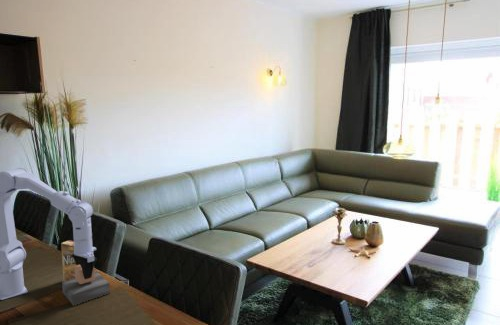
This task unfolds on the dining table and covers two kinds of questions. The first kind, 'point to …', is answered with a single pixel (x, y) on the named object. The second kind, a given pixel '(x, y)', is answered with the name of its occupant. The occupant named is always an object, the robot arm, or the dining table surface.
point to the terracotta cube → (80, 277)
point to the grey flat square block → (85, 289)
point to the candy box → (68, 260)
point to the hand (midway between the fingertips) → (85, 275)
